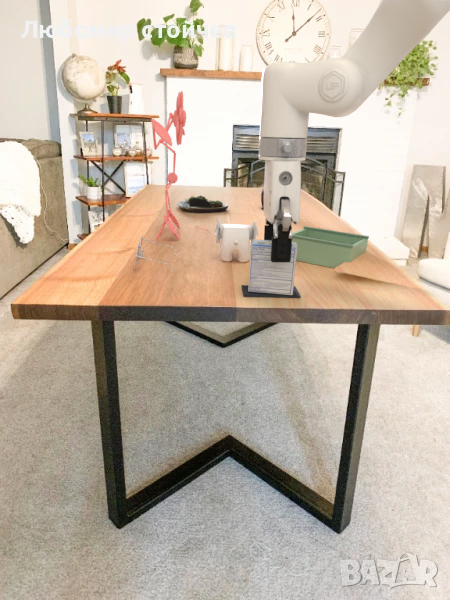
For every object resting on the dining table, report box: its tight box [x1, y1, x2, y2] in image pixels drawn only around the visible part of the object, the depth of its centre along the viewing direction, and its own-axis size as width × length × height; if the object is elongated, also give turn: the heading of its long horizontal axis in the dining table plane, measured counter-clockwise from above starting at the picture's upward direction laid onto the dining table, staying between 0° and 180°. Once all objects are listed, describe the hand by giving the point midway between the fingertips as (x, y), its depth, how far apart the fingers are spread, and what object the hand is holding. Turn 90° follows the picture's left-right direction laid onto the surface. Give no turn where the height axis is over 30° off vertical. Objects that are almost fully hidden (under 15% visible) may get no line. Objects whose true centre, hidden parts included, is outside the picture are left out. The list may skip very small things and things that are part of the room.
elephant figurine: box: [213, 218, 259, 263], centre depth 98 cm, size 10×12×9 cm
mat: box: [241, 284, 301, 299], centre depth 80 cm, size 10×5×1 cm, turn 92°
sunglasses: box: [133, 235, 178, 274], centre depth 93 cm, size 14×8×5 cm, turn 5°
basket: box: [292, 225, 370, 269], centre depth 101 cm, size 16×12×6 cm
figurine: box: [149, 90, 214, 244], centre depth 112 cm, size 15×26×35 cm, turn 2°
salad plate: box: [176, 195, 229, 214], centre depth 158 cm, size 19×18×5 cm
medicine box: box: [248, 239, 297, 295], centre depth 78 cm, size 8×4×9 cm, turn 81°
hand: (276, 254), depth 77 cm, fingers open, 9 cm apart
